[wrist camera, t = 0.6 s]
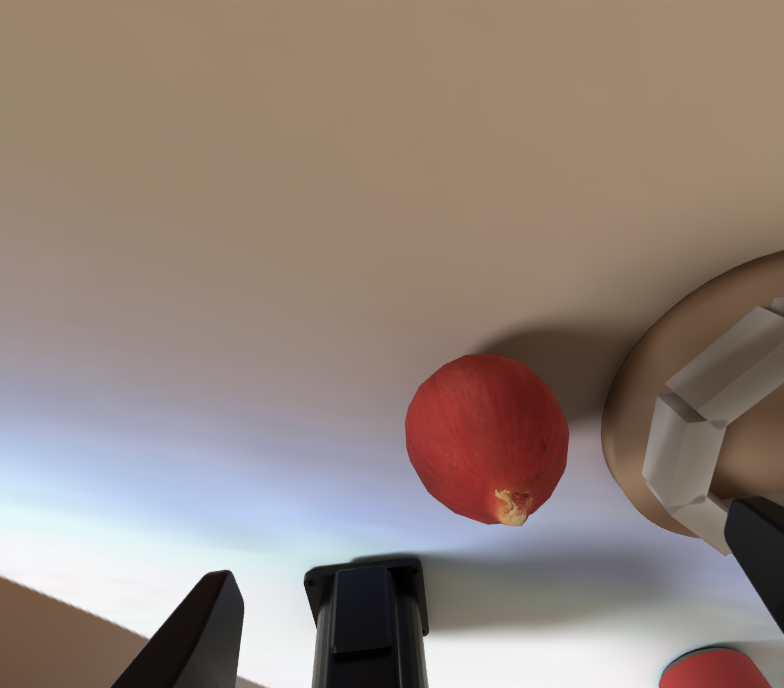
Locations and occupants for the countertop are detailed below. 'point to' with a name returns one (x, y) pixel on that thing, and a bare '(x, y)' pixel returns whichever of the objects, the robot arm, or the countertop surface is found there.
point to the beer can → (713, 671)
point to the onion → (487, 438)
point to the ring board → (665, 356)
